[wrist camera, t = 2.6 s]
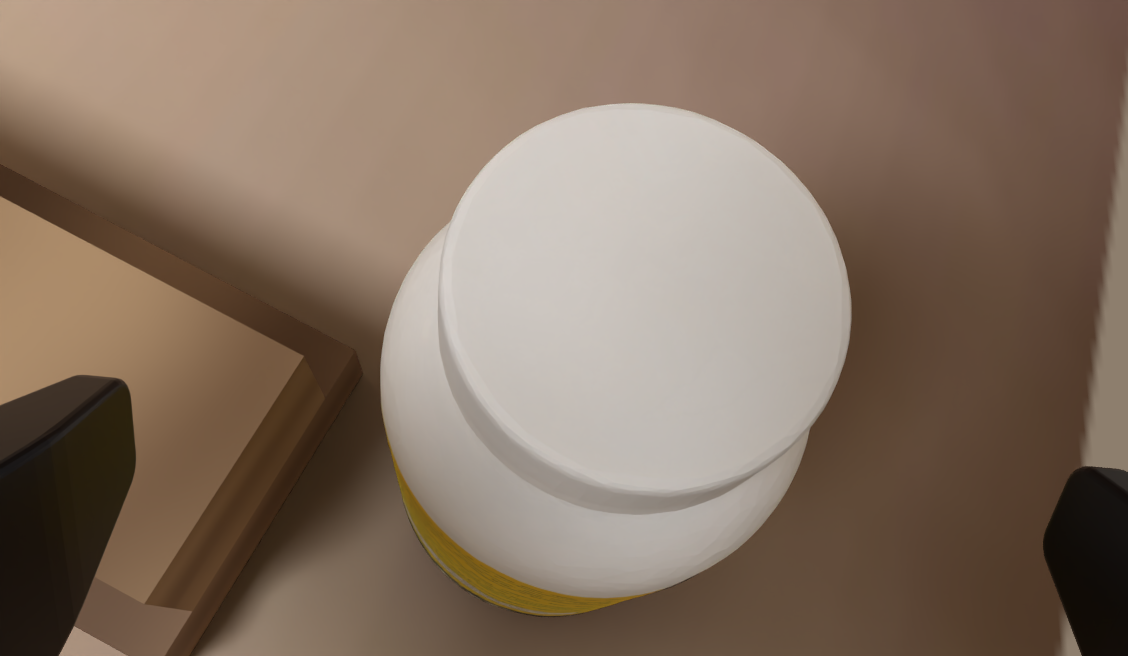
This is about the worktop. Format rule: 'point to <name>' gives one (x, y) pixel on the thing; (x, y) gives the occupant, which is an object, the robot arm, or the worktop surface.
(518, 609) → the supplement bottle
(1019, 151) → the worktop surface
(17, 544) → the robot arm
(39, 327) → the ridge
